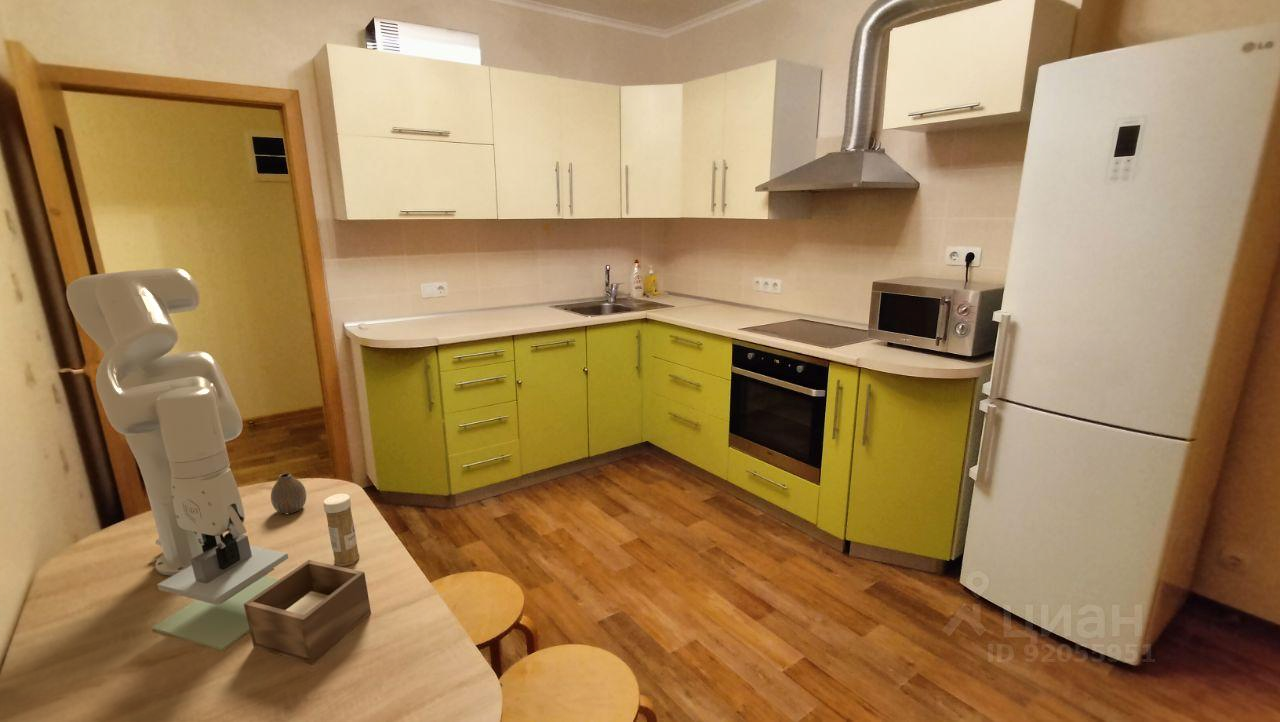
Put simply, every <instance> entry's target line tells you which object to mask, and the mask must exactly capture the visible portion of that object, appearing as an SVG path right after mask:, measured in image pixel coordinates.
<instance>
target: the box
mask: <svg viewBox="0 0 1280 722" xmlns="http://www.w3.org/2000/svg"><path fill="white" fill-rule="evenodd" d="M365 573H366V572H364V571H362V570H361V571H360V570H356V569H351V568H348V567H344V566H337V565H334V564H329V563H325V562H322V561H320V562H319V561H316V560H313V559H312V560H311V559H308V560H306V561H305V562H304V563H302V564H301V565H299V566H298V567H296V568H295V569H294V570H291V571H290V572H289V573H287V574H286V575H284V576H283V577H281V578H280V579H279V580H278V581H277V582H275V583H274V584H272V585H271V586H269V587H268V588H266V589H265V590H263V591H262V592H261V593H259V594H258V595H256V596H255V597H253V598H252V599H250V600H249V601H247V602H246V603H244V608H245V612H246V616H247V621H248V625H249V629H250V631H249V633H250V639H251V642H252V647H253V649H254V648H255V649H258V650H262V651H265V652H268V653H271V654H275V655H279V656H281V657H285V658H288V659H292V660H295V661H298V662H302V663H305V664H309V665H314V664H315V663H316V662H317V661H318V660H319V659H321V658H322V657H323V656H324V655H325V654H326V653H327V652H329V651H330V650H331V649H332V648H333V647H335V645H336V644H338V643H339V642H340V641H341V640H342V639H343V638H345V637H346V636H347V635H348V634H349V633H350V632H351V631H353V629H355V628H356V627H357V626H358V625H359V624H360V623H362V622H363V621H364V620H365V619H366V618H368V616H369V615H371V614H372V611H371V606H370V605H371V604H370V603H371V602H370V598H369V592H368V586H367V580H366V574H365Z"/></svg>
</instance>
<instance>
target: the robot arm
mask: <svg viewBox="0 0 1280 722" xmlns="http://www.w3.org/2000/svg"><path fill="white" fill-rule="evenodd" d="M65 293H66V299H67V303H68V306H69V309H70V311H71V312H72V315H73V317H74V318H75V321H77V323H78V325H79V326H80V327H81V329H82V330H83V331H84V332H85V333H86V334H87V335H88V337H89V338H91V340H92V341H93V342H95V344H96V345H97V346H98V347H99V348H100V350H102V352H103V354H104V356H103V357H102V359H101V360H100V363H99V364H98V367H97V369H96V375H95V386H96V390H97V391H96V392H97V395H98V397H99V400H100V403H101V404H102V407H103V410H104V413H105V415H106V418H107V421H108V422H109V423H110V425H111V427H112V428H113V429H114V430H115V431H116V432H117V433H119V434H121V435H124V437H125V440H126V443H127V444H128V446H129V448H130V450H131V452H132V454H133V457H134V458H135V461H136V463H137V465H138V468H139V470H140V475H141V476H142V480H143V483H144V486H145V490H146V493H147V496H148V501H149V505H150V508H151V509H150V510H151V511H152V512H151V513H152V517H153V520H154V524H155V527H156V531H157V534H158V538H157V539H156V540H155V544H156V546H161V551H162V553H163V554H161V555H160V556H159V557H158V558H157V560H156V562H155V564H154V565H155V569H156V572H157V573H159V574H160V575H163V576H169V577H171V576H173V575H175V574H177V573H178V572H180V571H182V570H184V569H186V568H187V567H189V566H191V565H192V563H191V559H193V558H194V557H196V556H198V555H200V554H202V553H204V552H205V551H208V550H209V549H211V548H213V547H215V546H218V548H216V549H215V550H216V554H217V558H218V562H219V566H220V569H223V570H224V569H226V568H228V567H230V566H231V565H233V564H235V563H236V562H238V561H239V560H240V554H239V550H238V545H237V540H238V537H239V536H241V535H245V534H246V533H247V529H246V527H245V525H244V524H243V523H245V520H246V519H245V518H246V517H245V516H246V515H245V509H244V505H243V501H242V497H241V493H240V491H239V487H238V484H237V482H236V480H235V476H234V474H233V472H232V470H231V468H230V466H231V463H230V460H229V454H228V450H227V445H226V442H229V441H232V440H235V439H236V438H237V437H239V436H240V434H241V433H242V431H243V425H244V424H243V418H242V414H241V411H240V409H239V407H238V405H237V402H236V400H235V397H234V396H233V394H232V391H231V390H230V386H229V385H228V382H227V380H226V377H225V375H224V374H223V371H222V369H221V366H220V365H219V363H218V362H217V360H216V359H215V358H214V357H213V356H212V355H211V354H210V353H208V352H205V351H201V350H195V351H194V350H193V351H186V352H180V353H174V354H168V353H169V352H170V351H171V350H173V349H174V347H175V346H176V345H177V343H178V340H179V334H178V330H177V328H176V327H175V324H174V323H173V320H172V319H171V316H170V315H169V314H178V313H185V312H193V311H195V310H197V308H198V307H199V305H200V301H201V295H200V290H199V287H198V284H197V283H196V281H195V279H194V278H193V276H192V275H191V274H190V273H189V272H187V271H186V270H185V269H182V268H180V267H165V268H164V267H163V268H154V269H153V268H151V269H138V270H125V271H119V272H117V271H116V272H107V273H106V272H105V273H99V274H91V275H87V276H82V277H80V278H77V279H75V280H73V281H71V282H70V283H69V284H68V285H67V287H66V291H65ZM224 533H226V534H225V535H224Z"/></svg>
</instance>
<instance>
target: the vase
mask: <svg viewBox="0 0 1280 722" xmlns="http://www.w3.org/2000/svg"><path fill="white" fill-rule="evenodd" d="M270 501H271V505H272V507H273V508H274V510H275V511H276V512H278V513H279V514H282V513H292V514H294V513H293V512H295V513H297V512H296V511H298V510H299V511H301V509H302V508H303V507H304V506H305V504H306V501H307V491H306V488H305V486H304V484H303V483H302V482H301V481H300V480H299V479H297V478H295V477H294V476H293V475H292V474H291V473H290V472H289V473H288V472H287V473H286V472H285V473H282V474H279V475H278V478H277V480H276V482H275V484H274V486H272V489H271V492H270ZM299 511H298V512H299Z"/></svg>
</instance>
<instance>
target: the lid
mask: <svg viewBox="0 0 1280 722" xmlns="http://www.w3.org/2000/svg"><path fill="white" fill-rule="evenodd" d="M249 541H250V540H249V536H248V535H245V534H243V535H241V536H239V537H238V540H237V545H238V550H239V554H240V560H239V561H238V562H236V563H235V564H233V565H231V566H230V567H228V568H226V569H224V570H223V569H220V566H219V562H218V558H217V554H216V550H215V549H216V548H218V546H215V547H213V548H211V549H209V550H208V551H205V552H204V553H202V554H200V555H198V556H196V557H194V558H193V559H191V563H192V565H191V566H189V567H187V568H186V569H184V570H182V571H180V572H178V573H177V574H175V575H173V576H169V577H168V578H167V579H164V580H162V581H161V582H159V583H157V587H158V590H159V591H163V592H167V593H171V594H174V595H178V596H182V597H185V598H188V599H192V600H195V601H196V600H200V601H203V602H207V603H211V604H214V605H217V604H222V603H223V602H225V601H226V600H228V599H230V598H231V597H233V596H234V595H236V594H237V593H239V592H240V591H242V590H243V589H245V588H246V587H248V586H250V585H251V584H253V583H254V582H256V581H257V580H259V579H260V578H262V577H263V576H267V575H268V574H270V573H271V572H273V571H274V570H275V568H276V567H277V566H279V565H280V564H282V563H283V562H285V561H287V560H288V559H289V555H288V552H282V551H278V550H273V549H269V548H265V547H260V546H256V545H251V544H250V542H249Z"/></svg>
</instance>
